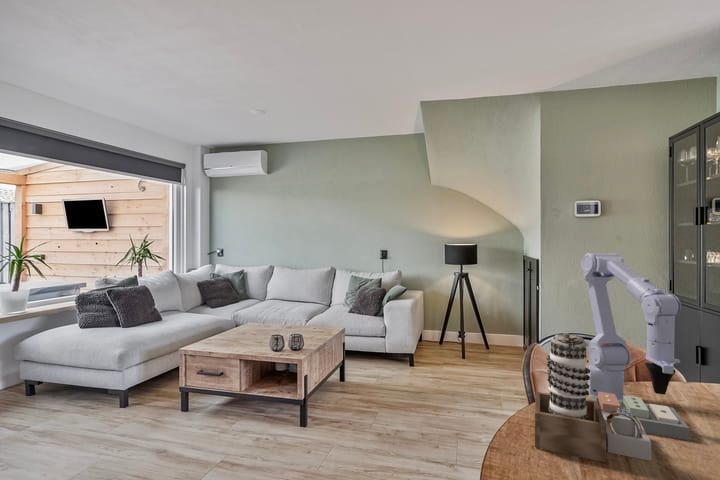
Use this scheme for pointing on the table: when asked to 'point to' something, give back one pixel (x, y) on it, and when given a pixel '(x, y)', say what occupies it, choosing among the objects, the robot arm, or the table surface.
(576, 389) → the decorative candle
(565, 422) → the box
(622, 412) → the ring
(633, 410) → the tile three sage
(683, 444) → the table surface
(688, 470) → the table surface
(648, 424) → the button board
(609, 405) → the tile two terracotta
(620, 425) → the bracelet dish
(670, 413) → the tile one cream
